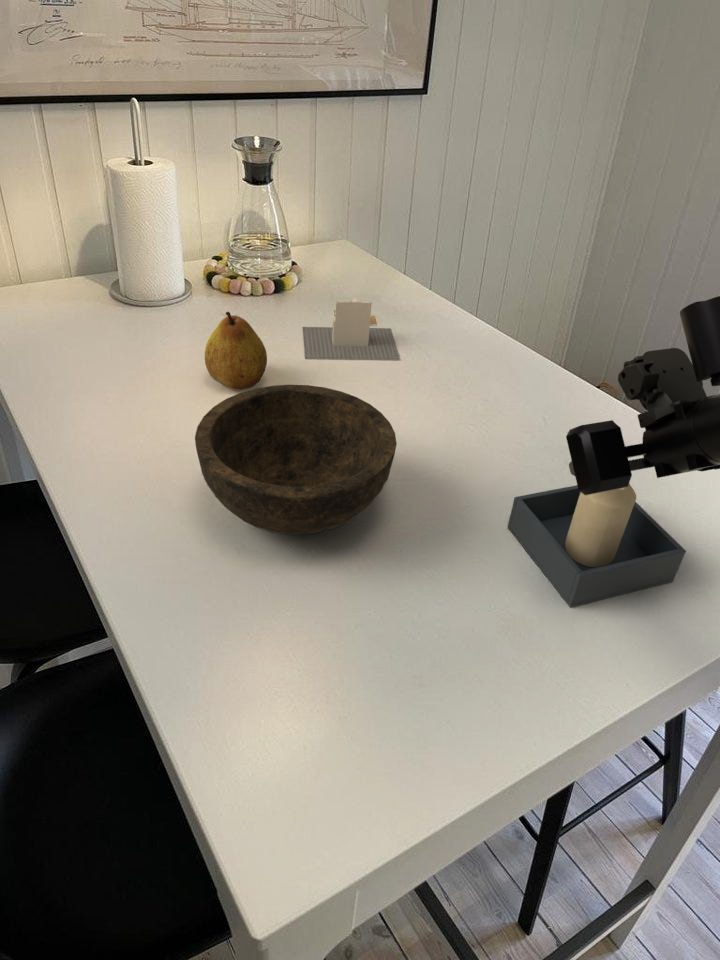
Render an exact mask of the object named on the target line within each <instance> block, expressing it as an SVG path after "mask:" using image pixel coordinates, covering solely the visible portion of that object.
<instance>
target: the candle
mask: <svg viewBox="0 0 720 960" xmlns="http://www.w3.org/2000/svg"><path fill="white" fill-rule="evenodd" d="M635 502H637V492H636V491H635V490H634V488H633V487H632V485H631V484H630V483H629V485H628V487H624V488H619V489H615V490H610V491H605V492H600V493H595V494H590V495H584V494H583V493H581V492H580V496H579V499H578V502H577V505H576V508H575V512H574V515H573V518H572V521H571V525H570V528H569V531H568V534H567V538H566V541H565V549H566V552H567V553H568V555H569V556H570V557H571V558H572V559H573V560H575V561H576V562H578V563H580V564H582V565H585V566H589V567H603V566H607V565H609V564H610V563H611V562H612V561H613V559H614V557H615V555H616V552H617V550H618V547H619V544H620V542H621V539H622V536H623V533H624V531H625V528H626V525H627V523H628V520H629V517H630V514H631V512H632V509H633V506H634V504H635Z"/></svg>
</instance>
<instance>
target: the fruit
mask: <svg viewBox="0 0 720 960" xmlns="http://www.w3.org/2000/svg"><path fill="white" fill-rule="evenodd" d="M205 344H206V346H205V350H204V364H205V367H206V370H207V372H208V373H209V375H210V377H211V378H212V379H214V381H216V382H218V383H220V384H222V385H223V386H224V387H226V388H227V389H231V390H238V391H239V390H245V389H250V388H253V387H255V386H256V385H257V384H259V382H260V381H262V378H263V376H264V375H265V372H266V369H267V364H268V354H267V349H266V348H265V347H266V346H265V344H264V342H263V341H262V339H261V338H260V336H259V335H258V334H257V333H256V331H255V330H254V328H253V327H252V326H251V324H250V323H249V322H248V321H247V320H246V319H244V318H243V317H241V316H238V315H235V314H234V315H231V312H230V311H226V312H225V317H224V318H223V319H222V320H220V321H219V323H218V324H217V326H216V327H215V329H214V330H213V331H212V332H211V334H210V336H209V338H208V340H207V341H206V343H205Z"/></svg>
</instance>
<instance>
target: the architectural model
mask: <svg viewBox="0 0 720 960" xmlns="http://www.w3.org/2000/svg"><path fill="white" fill-rule="evenodd" d="M335 303H336V304H335V310H334V311H333V317H332V327H331V326H302V338H303V339H302V340H303V350H304V351H303V352H304V359H305V360H353V361H354V360H357V361H360V360H365V361H367V360H368V361H370V360H371V361H372V360H373V361H401V357H400V354H399V350H398V346H397V344H396V341H395V340H396V339H395V337H394V333H393V331H392V328H391V327H390V328H389V327H388V328H387V327H378V322H377V318H376V315H372V313H371V312H372V304H373V303H372V301H359V299H358V297H354V299H352V300H351V301H335Z"/></svg>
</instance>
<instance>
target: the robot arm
mask: <svg viewBox="0 0 720 960" xmlns="http://www.w3.org/2000/svg"><path fill="white" fill-rule="evenodd" d="M679 316H680V321H681V325H682V328H683V333H684V336H685V341H686V344H687V348H688V352H689V356H690V358H689V356H688V355H687V353H686V352H685V351H684V350H682V349H680V348H679V347H678V348H677V347H669V348H663V349H655V350H648V351H645V352H644V353H643V354H642V355H637V356H635V357H634V358H632V359H631V360H627V361H626V360H625V362H624V363H623V368H622V369H621V371H620V372H619V373H618V375H617V382H618V384H619V386H620V388H621V389H622V391H623V393H624V395H625V397H626V398H627V400H628V401H636V400H637V401H639V402H640V405H641V406H642V407H643V409H645V410H646V411H644V412H641V413H638V414H637V419H638V423H639V427H640V429H644V431H643V433H642V443H637V444H631V445H626V444H625V440H624V437H623V432H622V427H621V426H619V425H618V424H617V423H616V422H615V421H614V420H613V419H611V420H605V421H598V422H592V423H587V424H580V425H577V426H576V427H573V428H571V429H569V430H568V432H567V434H566V435H565V438H566V439H565V440H566V442H567V446H568V447H567V448H568V451H569V455H570V459H571V461H570V462H569V463H568V468H569V472H570V474H571V475H572V476H574V477H575V481H576V485H577V486H578V490H579V491H580V492H581V493H583V494H584V495H590V494H595V493H600V492H605V491H610V490H615V489H619V488H624V487H628V485H629V484H630V482H631V480H632V477H633V474H632V472H634V471H635V472H636V471H640V470H644V469H650V468H654V471H655V475H656V478H657V479H661V478H665V477H670V476H674V475H675V476H676V475H680V474H685V473H691V472H696V471H697V472H707V471H711V470H715V471H717V470H720V393H718V394H714V395H708V396H707V394H706V391H705V389H704V382H703V381H706V380H709V379H710V380H709V381H710V385H711V387H719V386H720V295H718V296H715V297H711V298H709V299H706V300H699V301H694V302H692V303H690V304H688V305H686V306H685V307H683V308H682V309H680V311H679ZM641 456H642V457H641ZM636 457H639V458H636ZM630 458H635V459H630Z"/></svg>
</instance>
